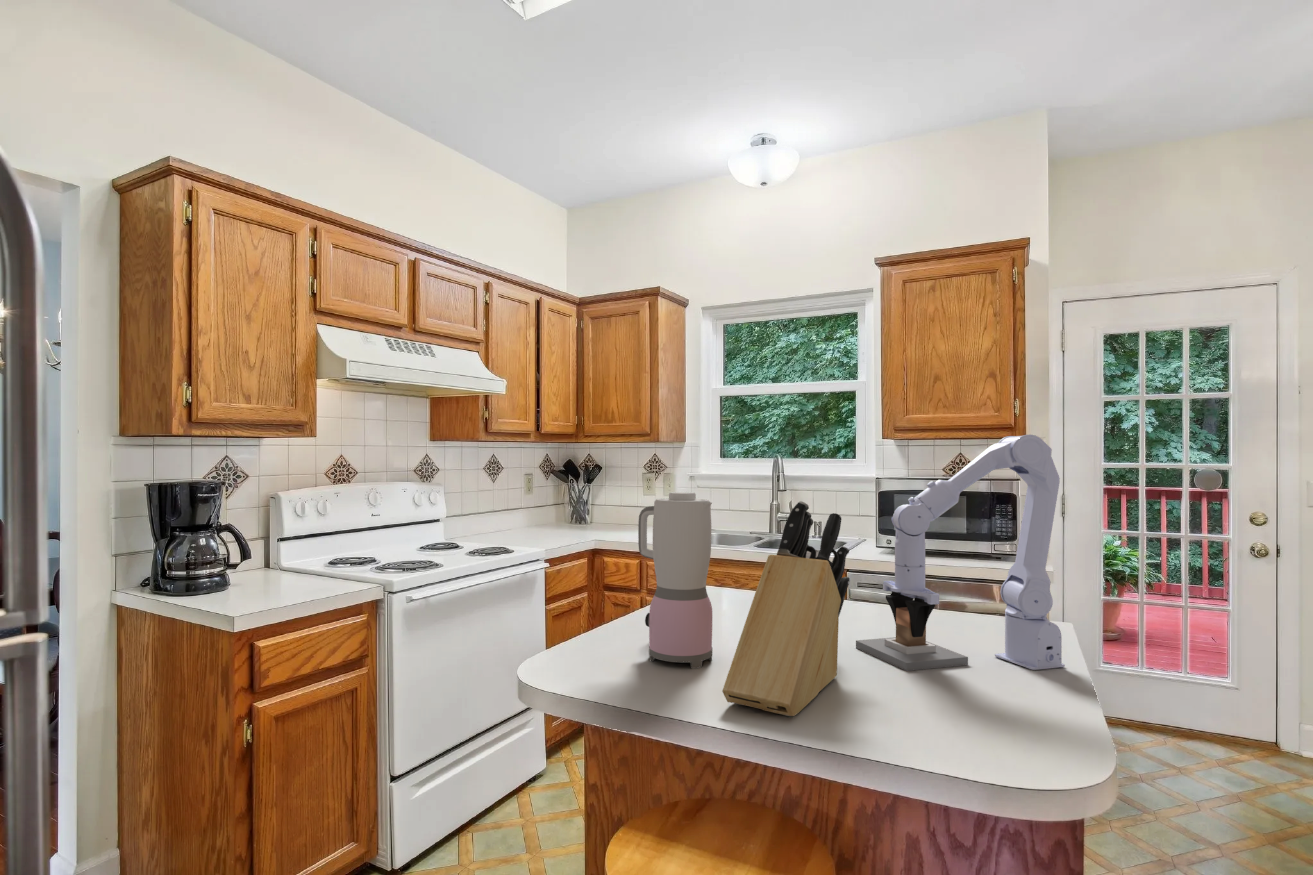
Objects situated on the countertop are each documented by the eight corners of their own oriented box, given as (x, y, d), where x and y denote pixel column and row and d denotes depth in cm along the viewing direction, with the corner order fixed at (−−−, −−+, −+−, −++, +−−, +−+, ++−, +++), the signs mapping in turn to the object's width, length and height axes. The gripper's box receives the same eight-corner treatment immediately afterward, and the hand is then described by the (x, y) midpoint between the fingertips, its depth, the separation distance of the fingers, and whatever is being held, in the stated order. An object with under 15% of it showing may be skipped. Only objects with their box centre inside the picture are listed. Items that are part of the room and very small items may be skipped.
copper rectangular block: (925, 647, 136) (926, 611, 136) (908, 648, 134) (909, 612, 135) (912, 641, 139) (912, 607, 140) (895, 642, 138) (896, 607, 138)
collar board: (967, 664, 131) (968, 650, 131) (906, 670, 127) (906, 656, 127) (912, 642, 147) (912, 630, 147) (855, 647, 142) (855, 634, 142)
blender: (722, 656, 135) (724, 492, 136) (697, 673, 124) (699, 495, 125) (651, 645, 142) (653, 489, 143) (621, 660, 131) (624, 492, 132)
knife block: (853, 664, 130) (854, 501, 131) (790, 726, 100) (792, 513, 101) (796, 655, 136) (797, 498, 137) (720, 710, 106) (722, 509, 107)
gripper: (870, 560, 143) (870, 626, 143) (917, 571, 129) (917, 644, 129) (899, 559, 145) (899, 624, 145) (948, 570, 131) (948, 641, 131)
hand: (909, 633), depth 137 cm, fingers closed on copper rectangular block, 4 cm apart
